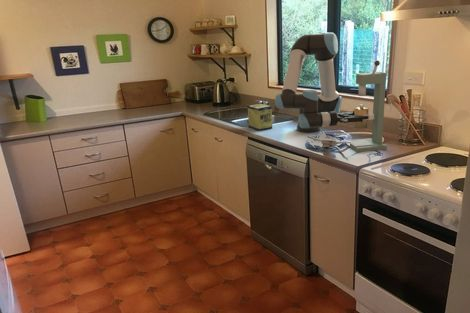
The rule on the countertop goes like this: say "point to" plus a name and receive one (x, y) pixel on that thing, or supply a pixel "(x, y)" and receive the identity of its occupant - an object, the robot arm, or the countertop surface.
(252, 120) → the protein box
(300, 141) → the countertop surface
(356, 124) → the housing
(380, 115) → the arbor press
